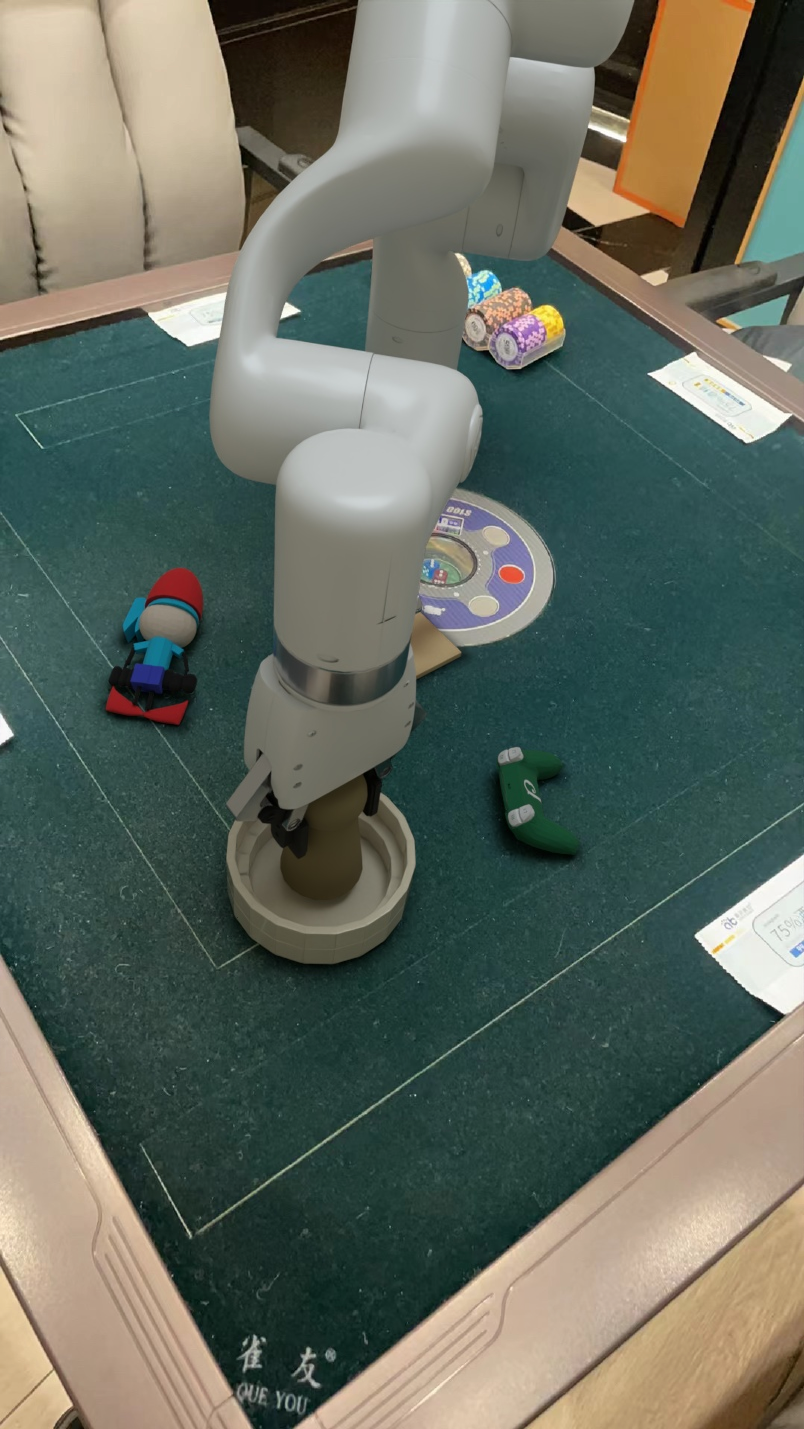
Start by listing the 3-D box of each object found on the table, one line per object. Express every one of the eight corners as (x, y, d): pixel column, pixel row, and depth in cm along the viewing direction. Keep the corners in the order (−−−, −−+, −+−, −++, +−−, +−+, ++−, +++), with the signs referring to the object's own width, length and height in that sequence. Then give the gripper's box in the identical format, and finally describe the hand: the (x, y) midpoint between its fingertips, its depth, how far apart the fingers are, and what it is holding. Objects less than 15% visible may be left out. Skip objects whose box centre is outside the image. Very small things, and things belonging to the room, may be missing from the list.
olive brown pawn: (367, 834, 78) (381, 746, 70) (357, 906, 75) (370, 822, 66) (287, 822, 78) (291, 733, 70) (273, 893, 74) (274, 808, 66)
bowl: (194, 865, 78) (191, 827, 74) (338, 784, 84) (342, 746, 80) (295, 1002, 72) (297, 969, 68) (443, 905, 78) (453, 870, 74)
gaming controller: (526, 777, 88) (484, 746, 85) (564, 757, 87) (523, 725, 83) (544, 871, 83) (501, 843, 79) (585, 852, 81) (543, 823, 77)
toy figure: (191, 736, 87) (228, 592, 94) (181, 706, 83) (220, 557, 90) (102, 726, 87) (145, 584, 95) (87, 695, 83) (134, 549, 91)
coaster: (320, 633, 94) (321, 629, 94) (399, 596, 98) (400, 592, 98) (381, 698, 90) (382, 693, 89) (460, 656, 94) (461, 652, 94)
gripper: (419, 548, 63) (390, 731, 78) (169, 662, 56) (187, 842, 70) (500, 625, 60) (454, 801, 74) (246, 758, 52) (249, 926, 67)
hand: (325, 819), depth 72 cm, fingers closed on olive brown pawn, 5 cm apart
